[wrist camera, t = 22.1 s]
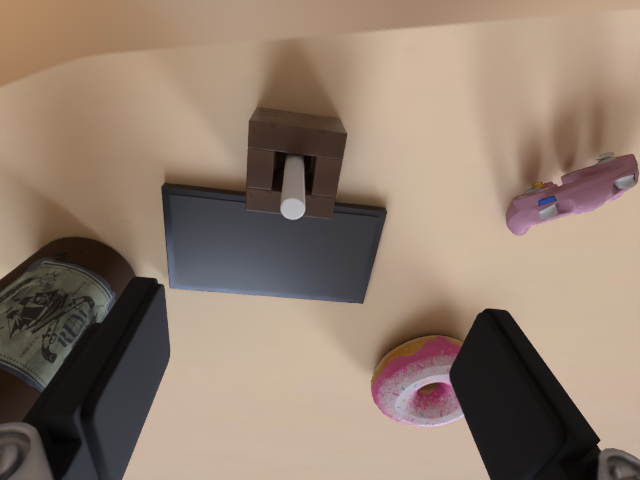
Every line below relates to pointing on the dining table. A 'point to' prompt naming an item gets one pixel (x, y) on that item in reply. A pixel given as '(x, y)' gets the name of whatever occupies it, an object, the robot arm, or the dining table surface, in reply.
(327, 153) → the pen holder
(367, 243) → the tablet
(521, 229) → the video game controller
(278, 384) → the dining table surface
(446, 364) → the donut
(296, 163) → the stylus
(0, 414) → the rum bottle
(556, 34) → the dining table surface
